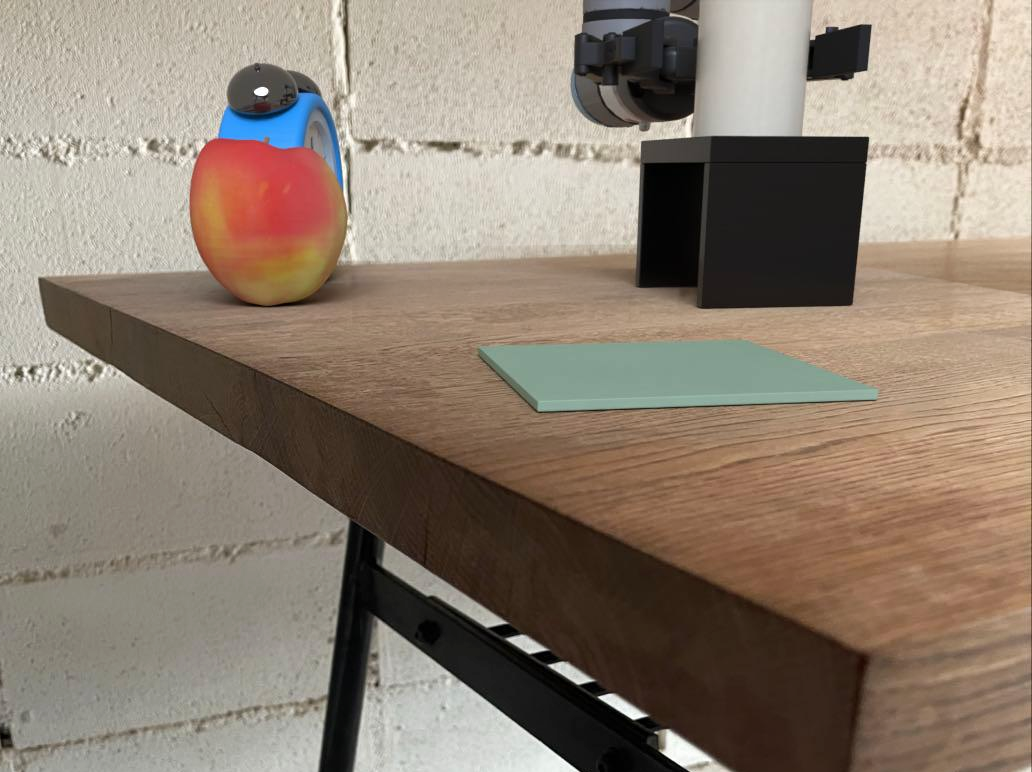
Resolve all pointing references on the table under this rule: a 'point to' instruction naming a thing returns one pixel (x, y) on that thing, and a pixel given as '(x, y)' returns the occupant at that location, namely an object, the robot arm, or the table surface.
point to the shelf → (752, 218)
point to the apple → (266, 219)
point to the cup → (751, 67)
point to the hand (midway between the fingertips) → (762, 45)
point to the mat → (664, 375)
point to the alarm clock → (280, 112)
